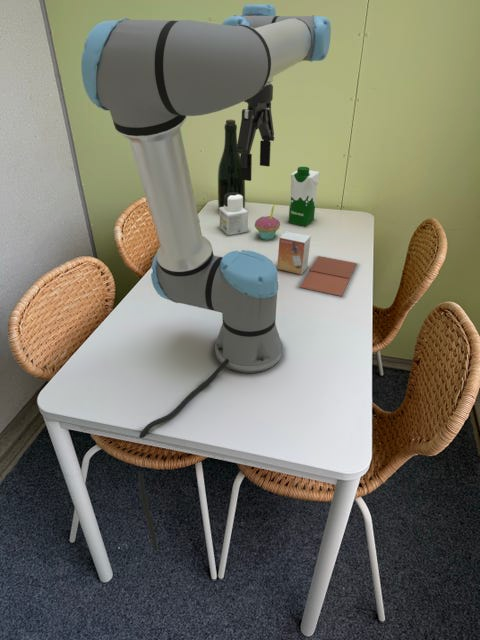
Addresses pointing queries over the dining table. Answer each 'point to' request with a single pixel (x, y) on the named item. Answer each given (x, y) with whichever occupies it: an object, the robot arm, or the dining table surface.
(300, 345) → the dining table surface
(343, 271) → the napkin
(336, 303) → the dining table surface
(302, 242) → the small box
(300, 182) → the milk carton
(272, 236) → the cupcake
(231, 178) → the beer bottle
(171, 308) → the dining table surface
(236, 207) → the container
